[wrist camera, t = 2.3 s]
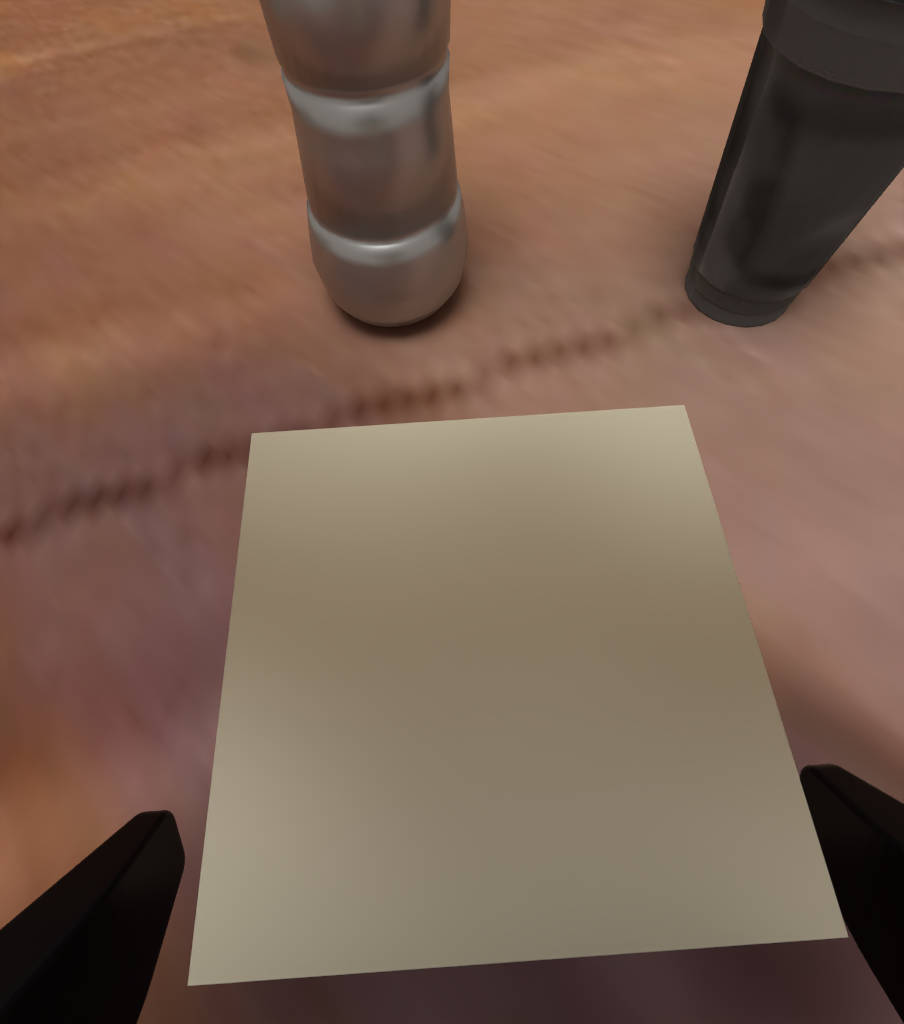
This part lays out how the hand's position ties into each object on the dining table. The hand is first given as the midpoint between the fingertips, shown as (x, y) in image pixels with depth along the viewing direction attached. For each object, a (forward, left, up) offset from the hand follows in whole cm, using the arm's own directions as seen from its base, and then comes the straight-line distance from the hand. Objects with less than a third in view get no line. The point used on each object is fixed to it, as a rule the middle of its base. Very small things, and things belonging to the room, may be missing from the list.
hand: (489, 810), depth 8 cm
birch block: (+1, -1, -9) cm, 9 cm away
